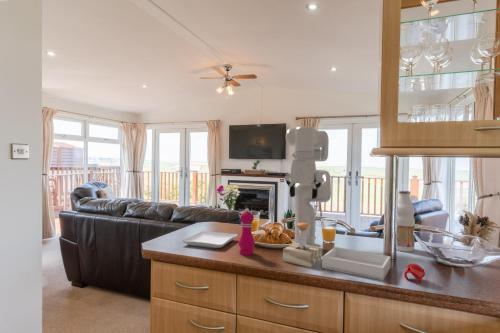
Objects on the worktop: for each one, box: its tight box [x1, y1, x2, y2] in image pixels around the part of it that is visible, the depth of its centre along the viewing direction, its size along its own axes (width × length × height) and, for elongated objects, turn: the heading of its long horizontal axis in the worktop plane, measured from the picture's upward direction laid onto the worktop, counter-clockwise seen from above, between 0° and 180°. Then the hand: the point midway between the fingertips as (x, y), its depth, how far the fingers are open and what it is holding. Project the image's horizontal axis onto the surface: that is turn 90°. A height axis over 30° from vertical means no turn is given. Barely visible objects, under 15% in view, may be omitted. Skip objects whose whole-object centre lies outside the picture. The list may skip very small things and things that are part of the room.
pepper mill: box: [238, 208, 256, 256], centre depth 134 cm, size 7×7×20 cm
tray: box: [321, 246, 392, 282], centre depth 118 cm, size 16×22×4 cm
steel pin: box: [297, 223, 309, 251], centre depth 126 cm, size 5×5×15 cm
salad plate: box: [181, 231, 238, 249], centre depth 151 cm, size 21×21×3 cm
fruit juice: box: [396, 190, 416, 253], centre depth 145 cm, size 9×9×28 cm
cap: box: [403, 263, 426, 284], centre depth 106 cm, size 8×6×6 cm
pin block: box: [282, 243, 322, 268], centre depth 126 cm, size 12×12×5 cm
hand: (303, 197), depth 126 cm, fingers open, 9 cm apart
